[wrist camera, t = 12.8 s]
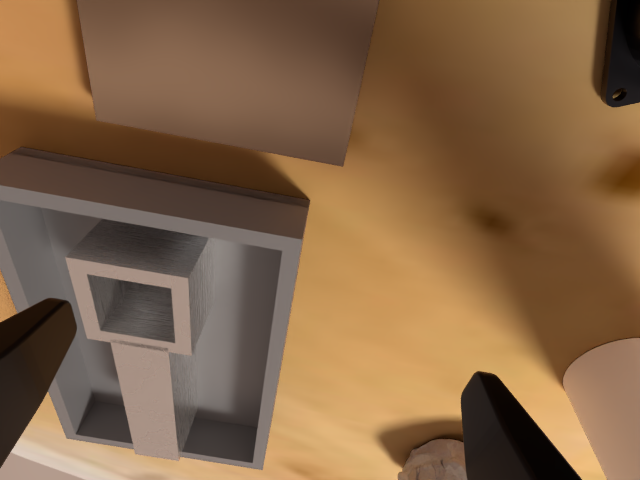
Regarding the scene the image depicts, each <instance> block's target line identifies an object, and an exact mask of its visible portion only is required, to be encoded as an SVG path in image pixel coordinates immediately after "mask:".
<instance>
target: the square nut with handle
mask: <svg viewBox="0 0 640 480" xmlns="http://www.w3.org/2000/svg"><path fill="white" fill-rule="evenodd" d="M65 259H66V262H67V266H68V270H69V274H70V277H71V281H72V285H73V288H74V292H75V296H76V299H77V303H78V307H79V310H80V314H81V318H82V321H83V325H84V329H85V333H86V336H87V339H93V340H99V341H105V342H111V347H112V351H113V356H114V360H115V365H116V370H117V374H118V379H119V383H120V388H121V392H122V397H123V401H124V406H125V410H126V415H127V419H128V424H129V428H130V433H131V437H132V442H133V446H134V451H135V454H138V455H144V456H151V457H157V458H164V459H170V460H176V461H179V459H180V457H181V454H182V451H183V448H184V445H185V442H186V440H187V437H188V434H189V431H190V428H191V425H192V423H193V420H194V417H195V414H196V411H197V409H198V398H197V368H196V344H197V342H198V339H199V337H200V334H201V332H202V330H203V327H204V325H205V322H206V320H207V318H208V315H209V313H210V310H211V308H212V306H213V303H214V238H208V237H203V236H197V235H191V234H186V233H180V232H175V231H169V230H164V229H158V228H152V227H147V226H141V225H136V224H130V223H124V222H119V221H113V220H108V219H102V220H101V221H100V222H99V223H98V224H97V225H96V226H95V227H94V228H93V229H92V230H91V231H90V232H89V233H88V234H87V235H86V236H85V237H84V238H83V239H82V240H81V241H80V242H79V243H78V244H77V245H76V246H75V247H74V249H73V250H72V251H71V252H70V253H69V254H68V255H67V256H66V257H65Z"/></svg>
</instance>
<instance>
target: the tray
mask: <svg viewBox="0 0 640 480" xmlns="http://www.w3.org/2000/svg"><path fill="white" fill-rule="evenodd" d="M309 204H310V200H307V199H301V198H296V197H290V196H285V195H280V194H274V193H269V192H263V191H258V190H252V189H247V188H242V187H236V186H231V185H225V184H220V183H214V182H209V181H203V180H198V179H193V178H187V177H182V176H176V175H171V174H165V173H160V172H154V171H149V170H144V169H138V168H133V167H127V166H122V165H116V164H111V163H106V162H100V161H95V160H89V159H84V158H78V157H73V156H67V155H62V154H57V153H51V152H46V151H40V150H35V149H29V148H24V147H20V148H18V149H16V150H14V151H13V152H11V153H9V154H7V155H6V156H4V157H2V158H0V270H1V272H2V275H3V277H4V280H5V282H6V285H7V288H8V290H9V293H10V295H11V298H12V300H13V303H14V305H15V308H16V310H17V313H19V312H21V311H23V310H25V309H27V308H29V307H31V306H33V305H34V304H36V303H38V302H40V301H42V300H44V299H47V298H57V299H63V300H67V301H69V302H70V303H71V306H72V309H73V313H74V317H75V320H76V324H77V332H76V335H75V338H74V340H73V342H72V344H71V346H70V348H69V350H68V352H67V354H66V356H65V358H64V360H63V362H62V364H61V366H60V368H59V370H58V372H57V374H56V376H55V378H54V380H53V382H52V384H51V386H50V388H49V390H48V392H49V395H50V397H51V400H52V402H53V405H54V407H55V410H56V412H57V415H58V417H59V420H60V423H61V425H62V428H63V430H64V433H65V435H66V438H67V439H73V440H79V441H86V442H92V443H98V444H104V445H110V446H117V447H123V448H129V449H134V446H133V442H132V437H131V433H130V428H129V424H128V419H127V415H126V410H125V406H124V401H123V397H122V392H121V388H120V383H119V379H118V374H117V370H116V365H115V360H114V356H113V351H112V347H111V342H105V341H99V340H93V339H87V336H86V333H85V329H84V325H83V321H82V318H81V314H80V310H79V307H78V303H77V299H76V296H75V292H74V288H73V285H72V281H71V277H70V274H69V270H68V266H67V262H66V259H65V257H66V256H67V255H68V254H69V253H70V252H71V251H72V250H73V249H74V247H75V246H76V245H77V244H78V243H79V242H80V241H81V240H82V239H83V238H84V237H85V236H86V235H87V234H88V233H89V232H90V231H91V230H92V229H93V228H94V227H95V226H96V225H97V224H98V223H99V222H100V221H101V220H102V219H108V220H113V221H119V222H124V223H130V224H136V225H141V226H147V227H152V228H158V229H164V230H169V231H175V232H180V233H186V234H191V235H197V236H203V237H208V238H214V303H213V306H212V308H211V310H210V313H209V315H208V318H207V320H206V322H205V325H204V327H203V330H202V332H201V334H200V337H199V339H198V342H197V344H196V368H197V398H198V409H197V411H196V414H195V417H194V420H193V423H192V425H191V428H190V431H189V434H188V437H187V440H186V442H185V445H184V448H183V451H182V454H181V457H185V458H191V459H197V460H204V461H210V462H216V463H222V464H228V465H235V466H241V467H247V468H253V469H259V470H263V465H264V459H265V454H266V449H267V443H268V438H269V433H270V427H271V421H272V416H273V410H274V404H275V399H276V393H277V387H278V381H279V376H280V370H281V364H282V358H283V353H284V347H285V341H286V336H287V330H288V324H289V318H290V313H291V307H292V301H293V295H294V290H295V284H296V278H297V273H298V267H299V261H300V255H301V250H302V244H303V238H304V232H305V227H306V221H307V215H308V210H309Z"/></svg>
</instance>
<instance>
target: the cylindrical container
mask: <svg viewBox="0 0 640 480" xmlns="http://www.w3.org/2000/svg"><path fill="white" fill-rule="evenodd" d="M563 386H564V389H565V392H566V394H567V396H568V398H569V400H570V402H571V404H572V406H573V409H574V411H575V413H576V415H577V417H578V419H579V421H580V423H581V425H582V428H583V430H584V432H585V434H586V436H587V438H588V440H589V442H590V444H591V447H592V449H593V451H594V453H595V455H596V457H597V459H598V461H599V463H600V465H601V468H602V470H603V472H604V474H605V476H606V478H607V480H640V338H630V339H622V340H618V341H614V342H610V343H607V344H604V345H601V346H599V347H596V348H594V349H592V350H590V351H588V352H586V353H584V354H583V355H582V356H580V357H579V358H577V359H576V360H575V361H574V362H573V363H572V364H571V365H570V366H569V368H568V369H567V370H566V372H565V375H564V377H563Z"/></svg>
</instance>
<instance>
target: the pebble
mask: <svg viewBox="0 0 640 480" xmlns="http://www.w3.org/2000/svg"><path fill="white" fill-rule="evenodd" d="M398 480H467V476H466V468H465V456H464V443H463V442H460V441H457V440H452V439H436V440H432V441H430V442H428V443H427V444H425V445H423V446H421V447H419V448H418V449H417V448H416V449H413V450H412V451H411V453H410V457H409V458H408V459H407V461H406V463H405V465H404V467H403V469H402V472H399V473H398Z"/></svg>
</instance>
